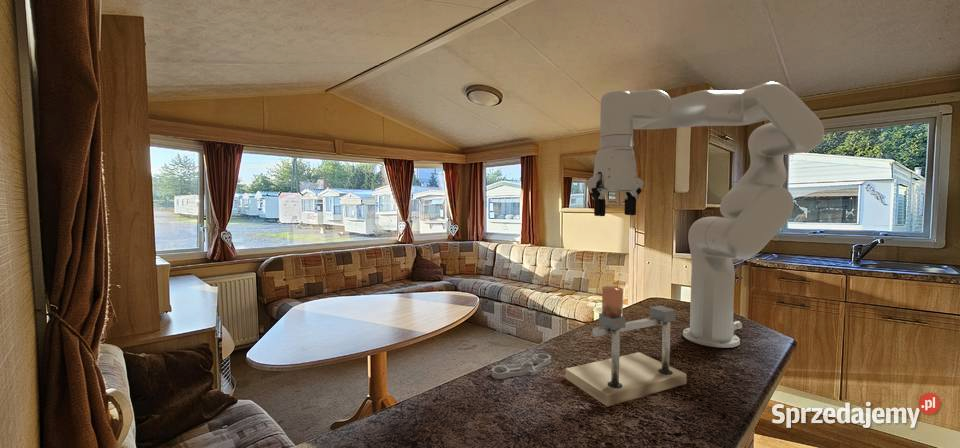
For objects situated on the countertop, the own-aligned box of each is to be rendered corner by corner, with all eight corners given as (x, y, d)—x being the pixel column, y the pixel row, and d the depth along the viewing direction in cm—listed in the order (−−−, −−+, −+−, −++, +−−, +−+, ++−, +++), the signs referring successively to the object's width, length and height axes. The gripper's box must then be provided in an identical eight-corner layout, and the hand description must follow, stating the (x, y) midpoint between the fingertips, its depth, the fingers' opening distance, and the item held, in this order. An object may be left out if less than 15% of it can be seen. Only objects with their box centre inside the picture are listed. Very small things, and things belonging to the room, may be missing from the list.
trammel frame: (660, 364, 81) (662, 305, 80) (675, 371, 77) (677, 309, 76) (589, 382, 73) (590, 317, 72) (603, 390, 70) (604, 322, 69)
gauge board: (638, 360, 87) (638, 351, 87) (686, 383, 76) (686, 373, 76) (565, 378, 79) (565, 368, 79) (607, 406, 68) (607, 395, 68)
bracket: (484, 360, 85) (546, 350, 89) (484, 369, 85) (546, 359, 89) (495, 375, 78) (562, 364, 82) (496, 384, 78) (562, 373, 82)
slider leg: (611, 374, 75) (613, 285, 74) (625, 382, 72) (627, 289, 71) (597, 378, 74) (598, 287, 73) (610, 386, 70) (612, 291, 69)
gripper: (631, 148, 101) (630, 214, 102) (577, 145, 94) (576, 215, 95) (654, 144, 94) (653, 215, 95) (598, 140, 87) (597, 217, 88)
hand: (615, 215), depth 95 cm, fingers open, 9 cm apart
